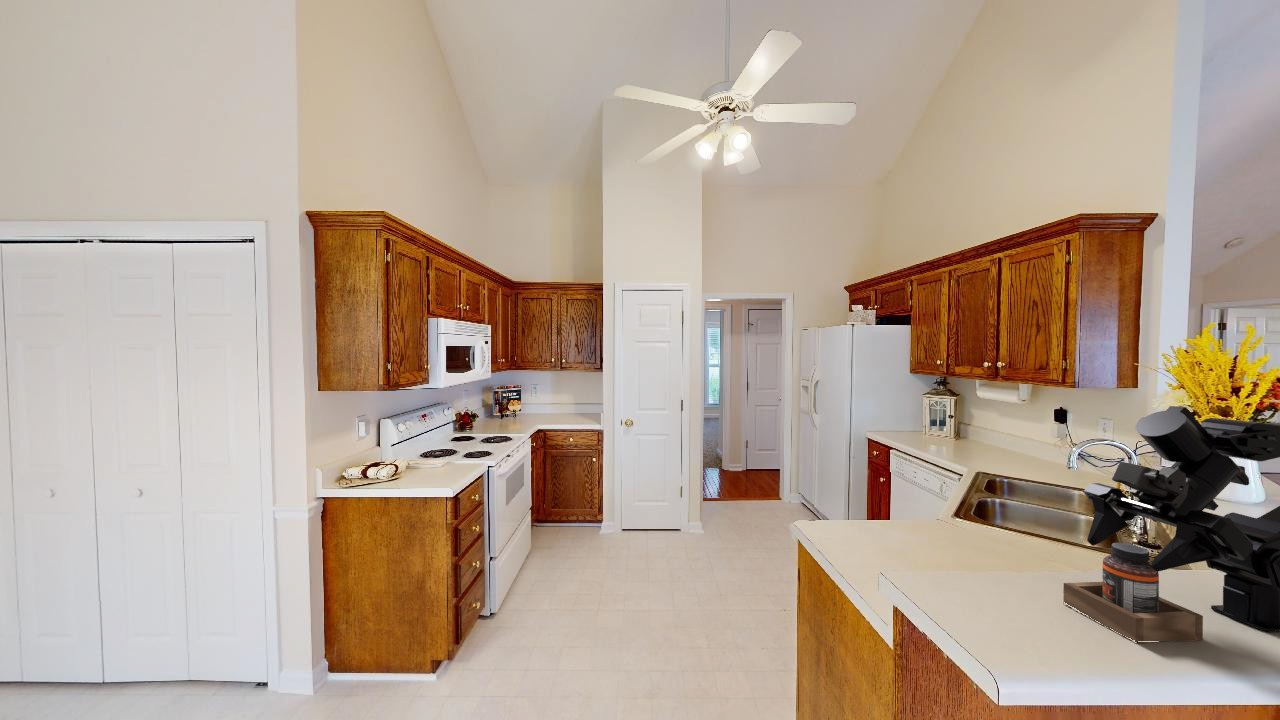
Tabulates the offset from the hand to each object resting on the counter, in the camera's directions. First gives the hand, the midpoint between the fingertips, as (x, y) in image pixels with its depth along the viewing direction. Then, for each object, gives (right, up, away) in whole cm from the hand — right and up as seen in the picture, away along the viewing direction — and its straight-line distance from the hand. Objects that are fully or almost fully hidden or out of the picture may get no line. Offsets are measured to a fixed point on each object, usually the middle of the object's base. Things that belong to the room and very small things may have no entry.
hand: (1119, 555), depth 72 cm
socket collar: (+1, -10, 0) cm, 10 cm away
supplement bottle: (+2, -10, 0) cm, 10 cm away
